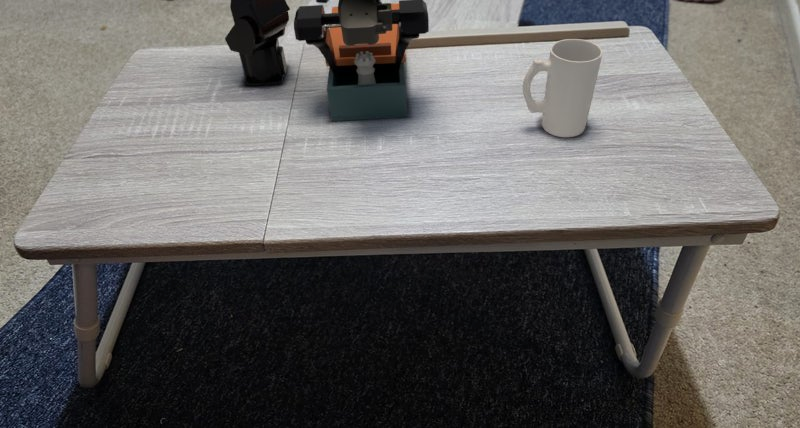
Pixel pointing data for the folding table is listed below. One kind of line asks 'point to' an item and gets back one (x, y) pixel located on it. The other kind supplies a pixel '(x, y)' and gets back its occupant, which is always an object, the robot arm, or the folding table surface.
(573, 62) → the mug
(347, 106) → the bin
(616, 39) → the folding table surface
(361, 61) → the rook chess piece
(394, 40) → the bin lid
